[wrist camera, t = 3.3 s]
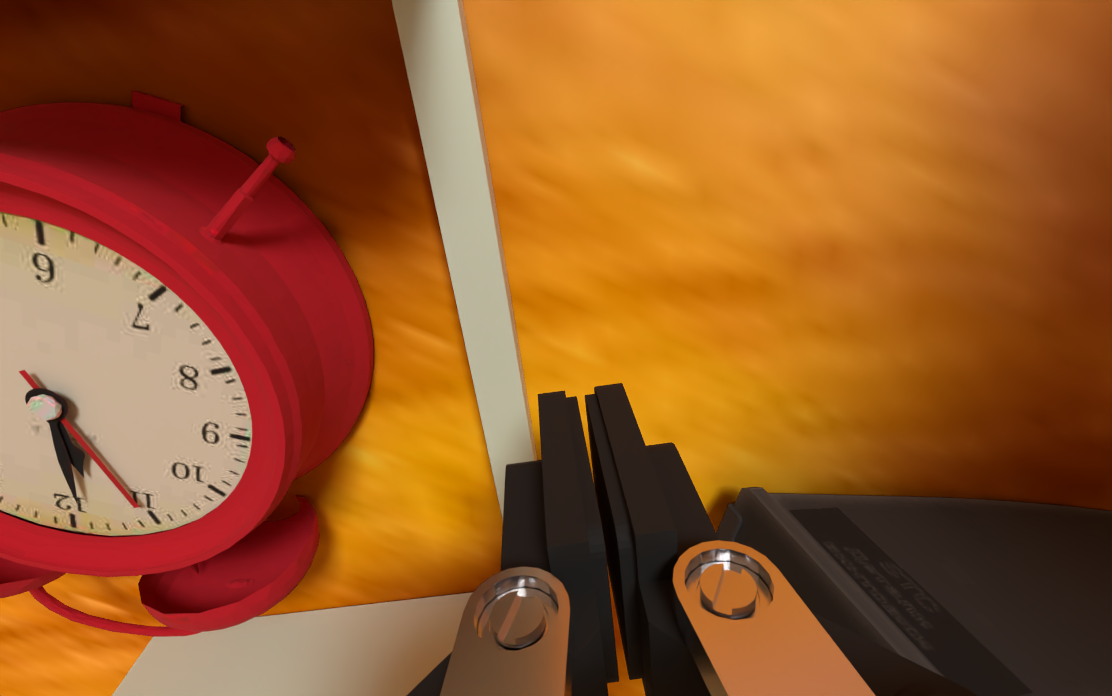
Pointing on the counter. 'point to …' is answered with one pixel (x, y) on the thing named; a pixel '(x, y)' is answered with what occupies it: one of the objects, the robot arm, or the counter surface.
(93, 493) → the alarm clock
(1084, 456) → the counter surface
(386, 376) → the counter surface
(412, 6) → the shelf bay
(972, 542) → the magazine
